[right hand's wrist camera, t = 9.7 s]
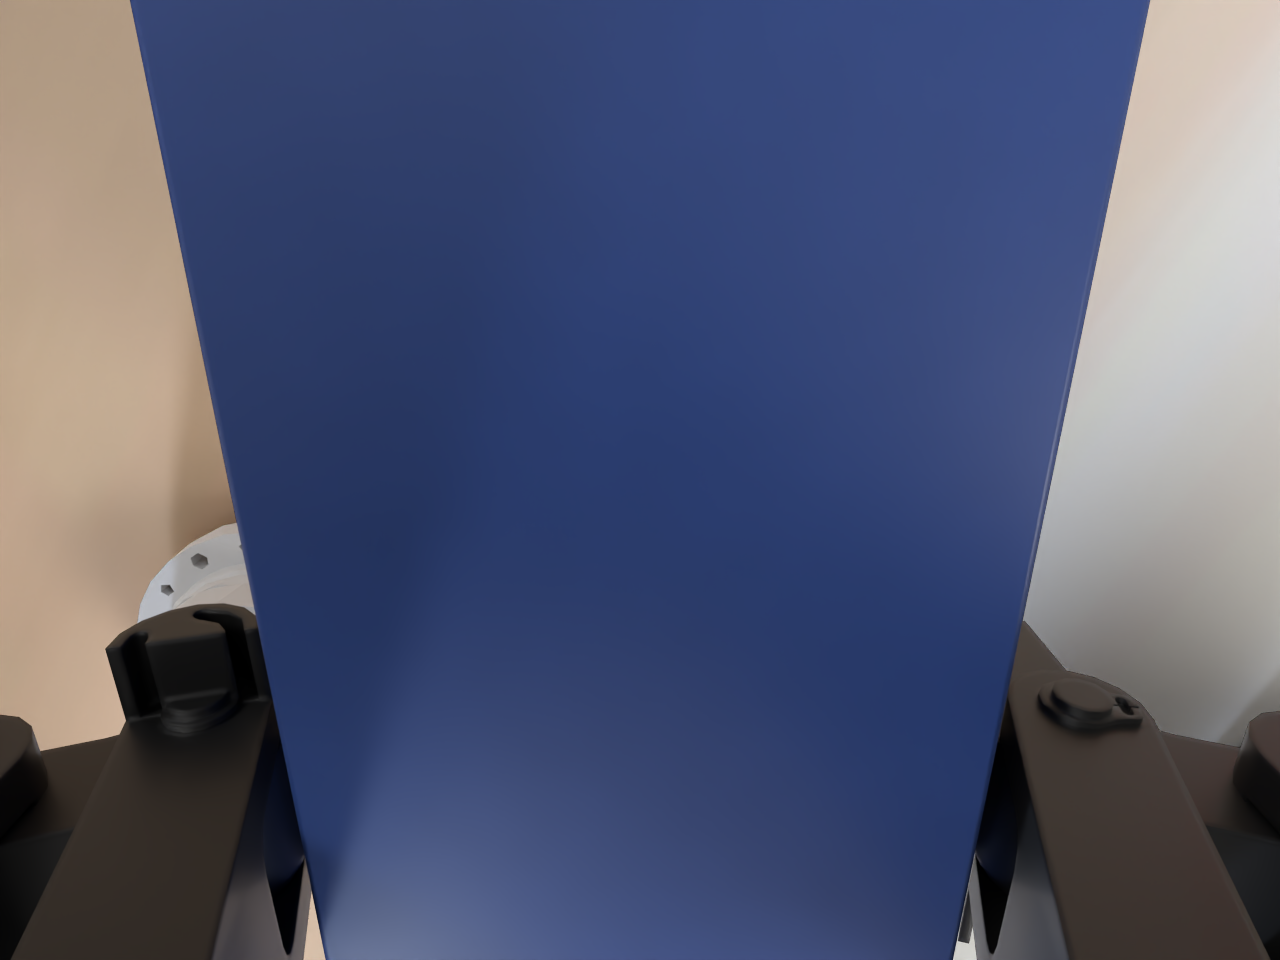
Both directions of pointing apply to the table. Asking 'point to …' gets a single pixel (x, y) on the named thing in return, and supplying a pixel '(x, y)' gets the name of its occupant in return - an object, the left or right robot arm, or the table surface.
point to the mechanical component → (201, 576)
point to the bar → (639, 441)
